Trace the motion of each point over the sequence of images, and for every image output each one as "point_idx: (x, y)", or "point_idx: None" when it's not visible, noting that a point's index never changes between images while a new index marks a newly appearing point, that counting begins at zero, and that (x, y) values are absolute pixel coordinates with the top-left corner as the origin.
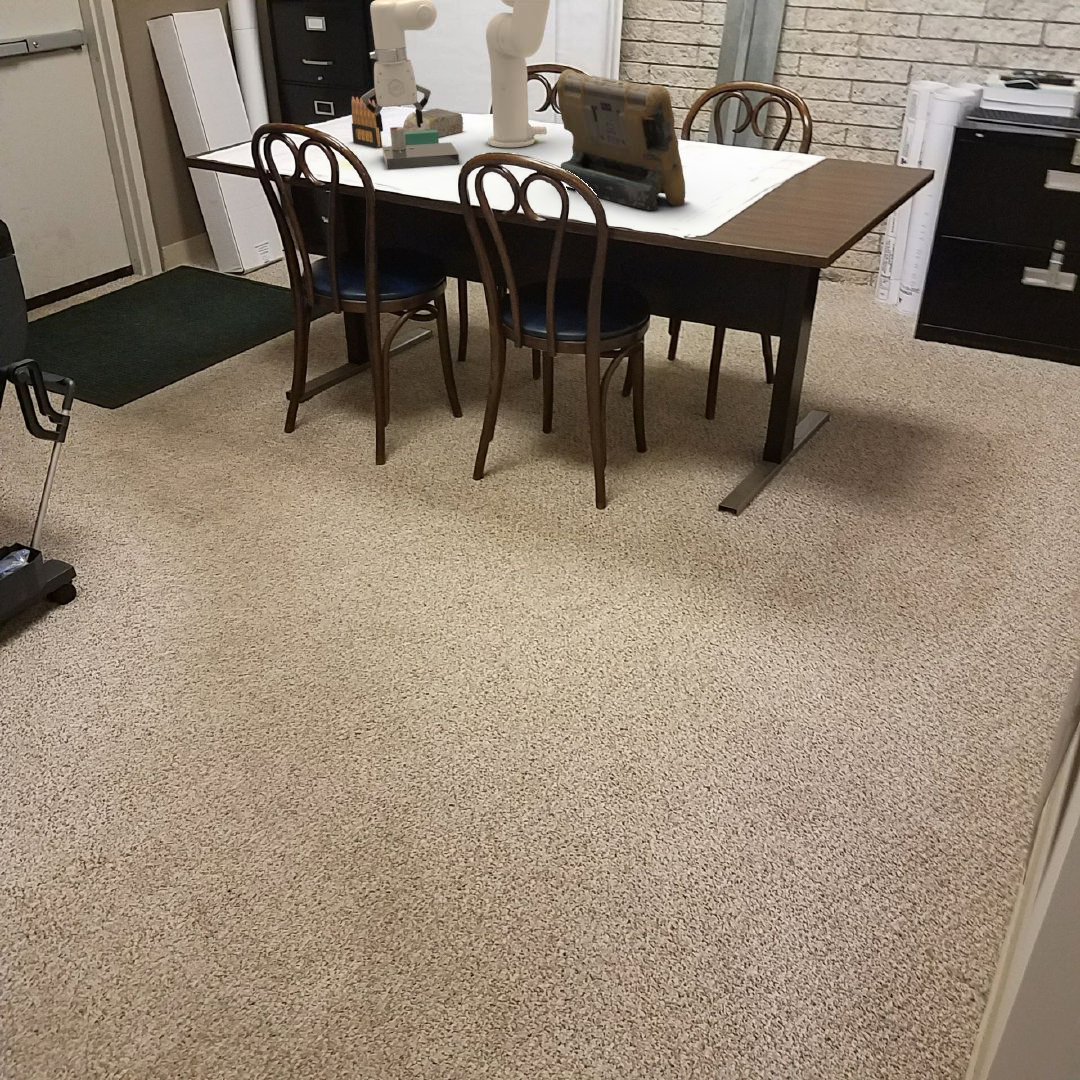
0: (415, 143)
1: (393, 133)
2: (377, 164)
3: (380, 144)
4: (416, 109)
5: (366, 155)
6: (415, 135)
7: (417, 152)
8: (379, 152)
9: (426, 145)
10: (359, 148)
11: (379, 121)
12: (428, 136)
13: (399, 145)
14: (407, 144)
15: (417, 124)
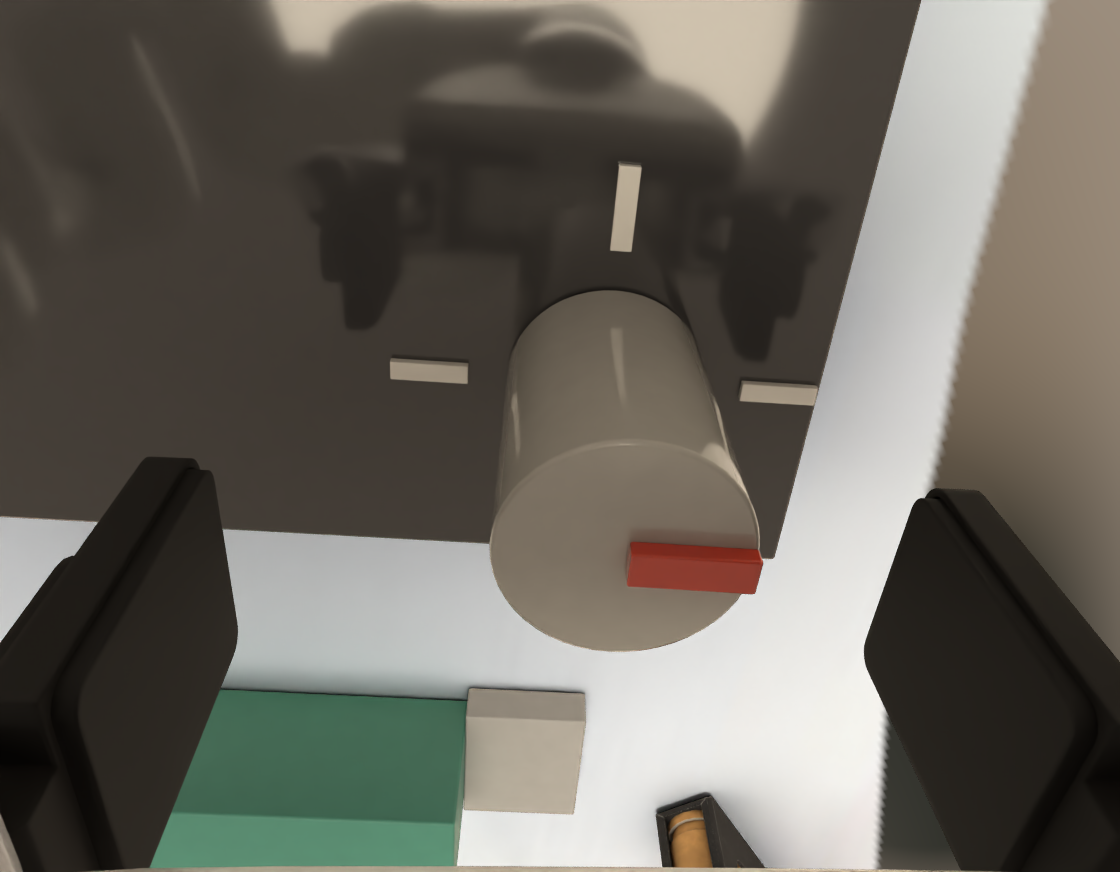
0: (359, 732)
1: (719, 437)
2: (937, 163)
3: (668, 838)
4: (69, 848)
5: None
6: (335, 801)
7: (363, 59)
8: (730, 668)
9: (218, 458)
10: (847, 823)
11: (1070, 612)
12: (199, 778)
13: (618, 316)
14: (441, 733)
15: (208, 558)
